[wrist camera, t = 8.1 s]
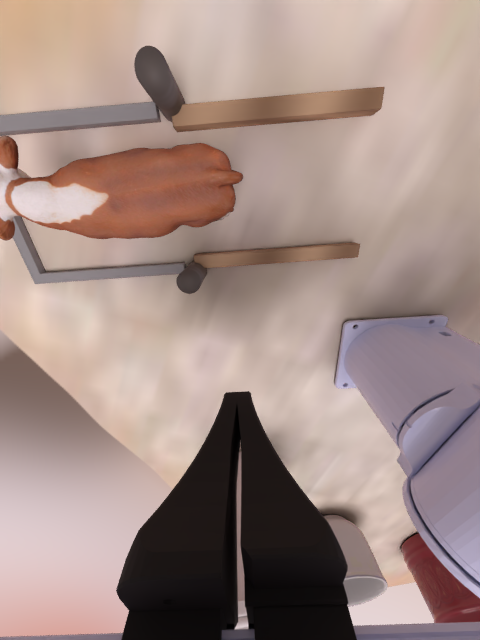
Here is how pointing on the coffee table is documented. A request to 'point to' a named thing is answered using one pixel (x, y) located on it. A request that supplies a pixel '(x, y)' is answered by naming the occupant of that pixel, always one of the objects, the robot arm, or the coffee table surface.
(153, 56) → the pair of brown bars
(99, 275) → the frame
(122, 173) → the bull figurine
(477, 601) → the canister
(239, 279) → the coffee table surface
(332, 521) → the teacup
